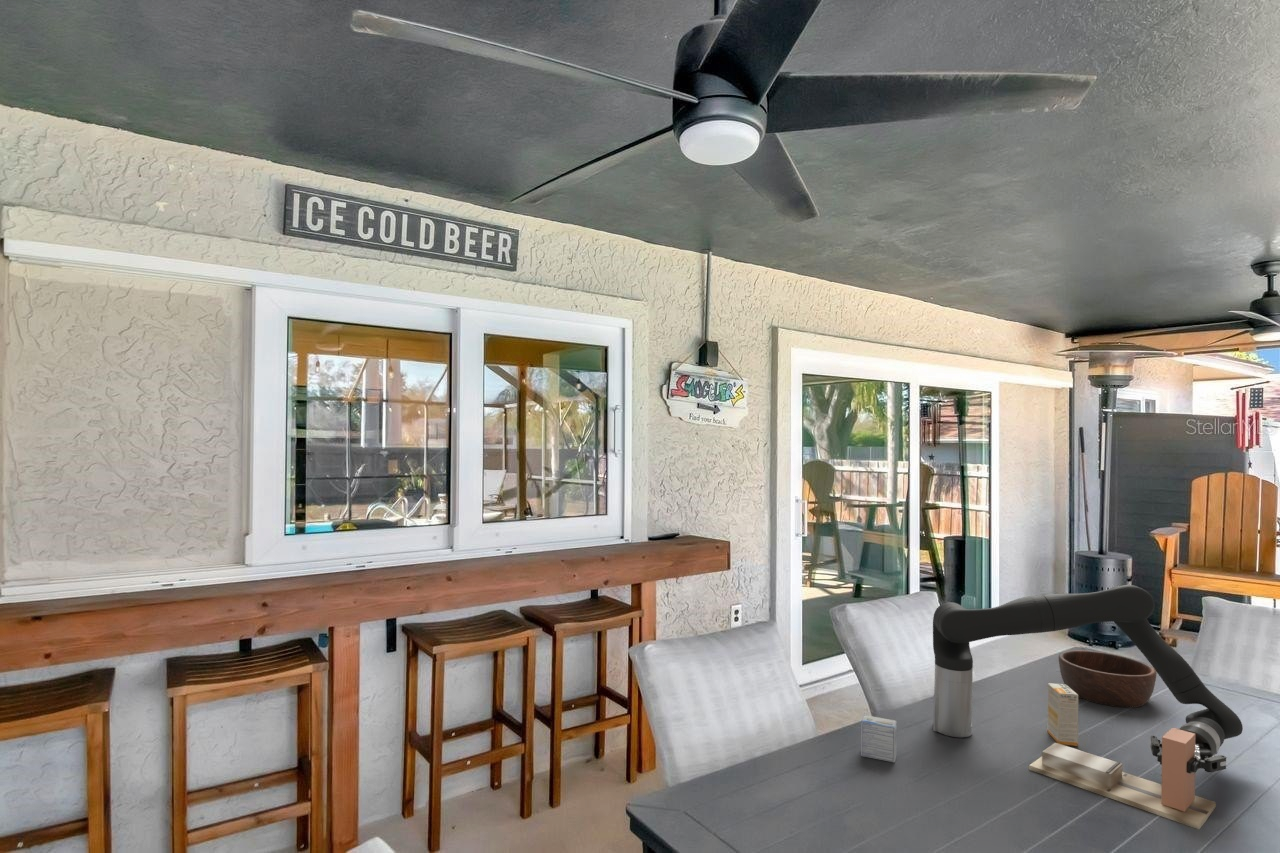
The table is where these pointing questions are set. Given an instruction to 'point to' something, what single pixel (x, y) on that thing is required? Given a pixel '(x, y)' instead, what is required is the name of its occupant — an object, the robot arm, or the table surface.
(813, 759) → the table surface
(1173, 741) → the salmon orange block
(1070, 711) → the supplement box
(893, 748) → the medicine box
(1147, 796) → the wooden base board
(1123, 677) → the wooden bowl
